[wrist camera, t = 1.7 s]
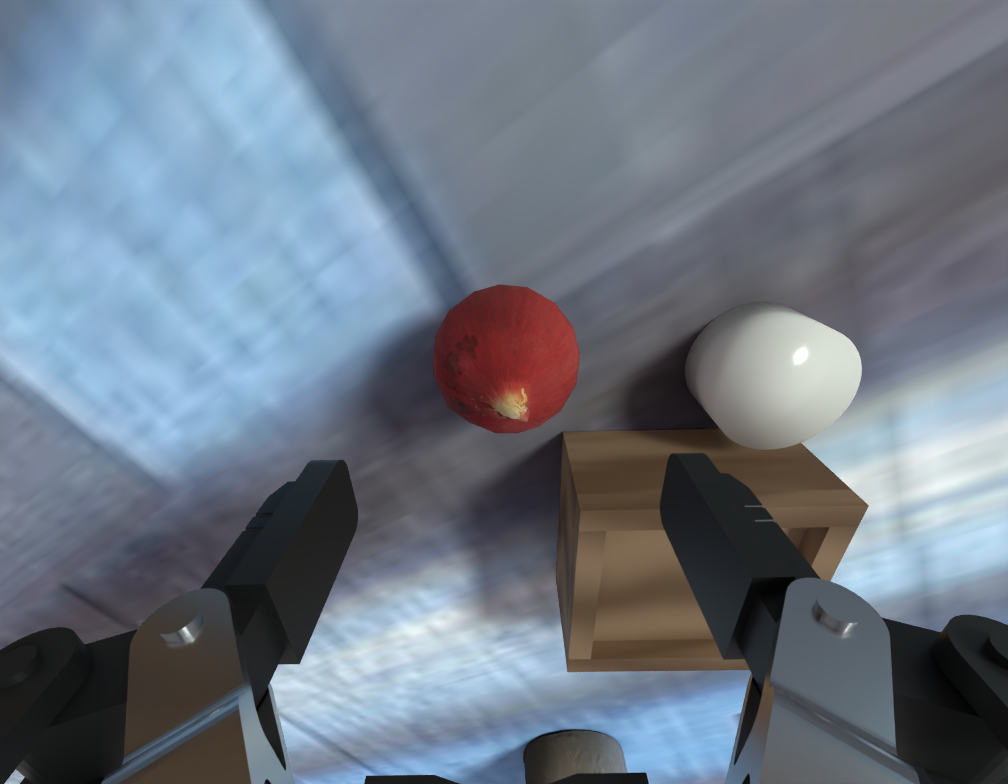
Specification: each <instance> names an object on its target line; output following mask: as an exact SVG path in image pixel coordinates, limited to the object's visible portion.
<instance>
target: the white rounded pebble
mask: <svg viewBox="0 0 1008 784" xmlns="http://www.w3.org/2000/svg"><path fill="white" fill-rule="evenodd" d="M861 371H862V366H861V359H860V356H859V353H858V351H857V349H856V347H855V345H854V344H853V343H852V342H851V341H850V340H849V339H848V338H847V337H846V336H844V335H843V334H841V333H839V332H837V331H836V330H833V329H831V328H829V327H827V326H825V325H823V324H821V323H819V322H817V321H815V320H813V319H811V318H809V317H807V316H805V315H803V314H801V313H798V312H796V311H794V310H792V309H790V308H788V307H786V306H784V305H781V304H777V303H772V302H755V303H749V304H744V305H741V306H738V307H735V308H733V309H731V310H729V311H727V312H725V313H723V314H722V315H720V316H718V317H717V318H716V319H714V320H713V321H712V322H711V323H709V324H708V325H707V326H706V327H705V328H704V329H703V330H702V332H701V333H700V334H699V335H698V337H697V338H696V339H695V341H694V343H693V344H692V346H691V348H690V350H689V353H688V356H687V359H686V364H685V379H686V383H687V386H688V389H689V390H690V392H691V394H692V395H693V396H694V398H695V399H696V400H697V401H698V403H699V404H700V405H701V406H702V407H703V409H704V410H705V411H706V412H707V413H708V415H709V416H710V417H711V418H712V419H713V421H714V422H715V423H716V424H717V425H718V427H719V428H720V429H721V430H722V431H723V433H724V434H725V435H726V436H727V437H728V438H730V439H731V440H732V441H734V442H735V443H737V444H740V445H742V446H745V447H748V448H752V449H759V450H771V449H780V448H785V447H789V446H793V445H796V444H799V443H801V442H804V441H806V440H808V439H810V438H812V437H814V436H816V435H817V434H819V433H821V432H822V431H823V430H825V429H826V428H828V427H829V426H830V425H831V424H832V423H834V422H835V421H836V420H837V419H838V418H839V417H840V416H841V415H842V414H843V412H844V411H845V410H846V409H847V408H848V406H849V405H850V403H851V401H852V400H853V398H854V396H855V394H856V392H857V390H858V387H859V384H860V379H861Z"/></svg>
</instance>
